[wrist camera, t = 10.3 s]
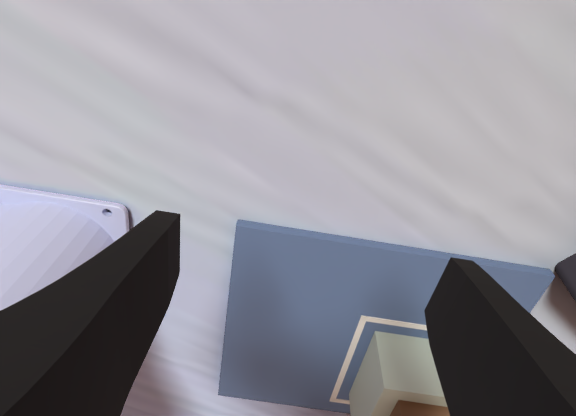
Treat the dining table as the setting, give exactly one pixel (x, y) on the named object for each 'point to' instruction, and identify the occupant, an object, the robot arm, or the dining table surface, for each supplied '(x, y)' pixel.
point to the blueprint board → (329, 309)
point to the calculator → (568, 274)
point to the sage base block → (395, 375)
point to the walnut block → (418, 409)
